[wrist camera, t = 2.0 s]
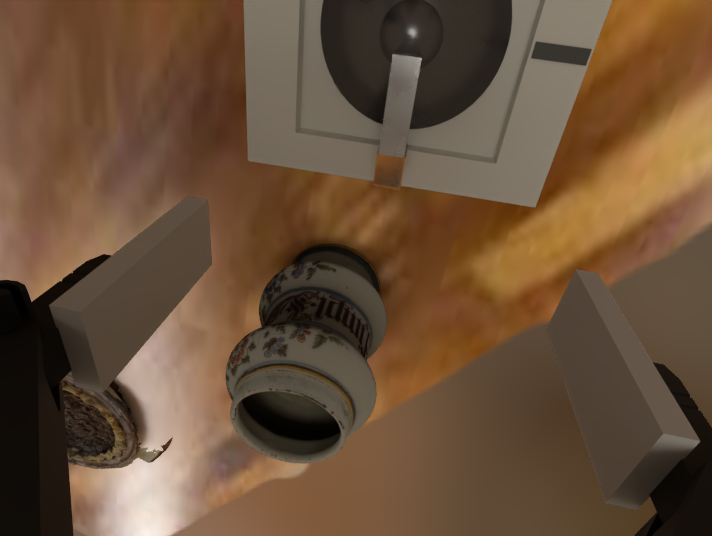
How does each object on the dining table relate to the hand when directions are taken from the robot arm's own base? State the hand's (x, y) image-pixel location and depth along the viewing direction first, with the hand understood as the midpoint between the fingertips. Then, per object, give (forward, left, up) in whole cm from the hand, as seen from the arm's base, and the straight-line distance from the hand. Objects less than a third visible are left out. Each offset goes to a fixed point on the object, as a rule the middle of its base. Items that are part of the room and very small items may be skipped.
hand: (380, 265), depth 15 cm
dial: (-5, -1, -22) cm, 22 cm away
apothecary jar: (+18, -5, -23) cm, 30 cm away
